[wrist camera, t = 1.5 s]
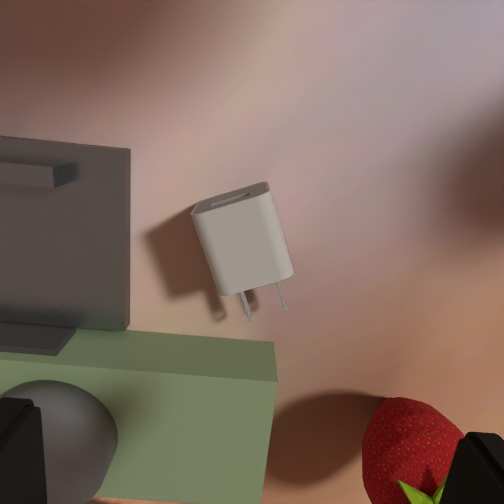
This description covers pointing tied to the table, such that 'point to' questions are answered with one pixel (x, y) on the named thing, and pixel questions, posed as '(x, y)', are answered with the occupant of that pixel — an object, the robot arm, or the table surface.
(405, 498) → the strawberry
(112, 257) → the grey plate with ledge
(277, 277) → the usb wall charger
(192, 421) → the green slab with knob
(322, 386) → the table surface
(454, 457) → the robot arm
